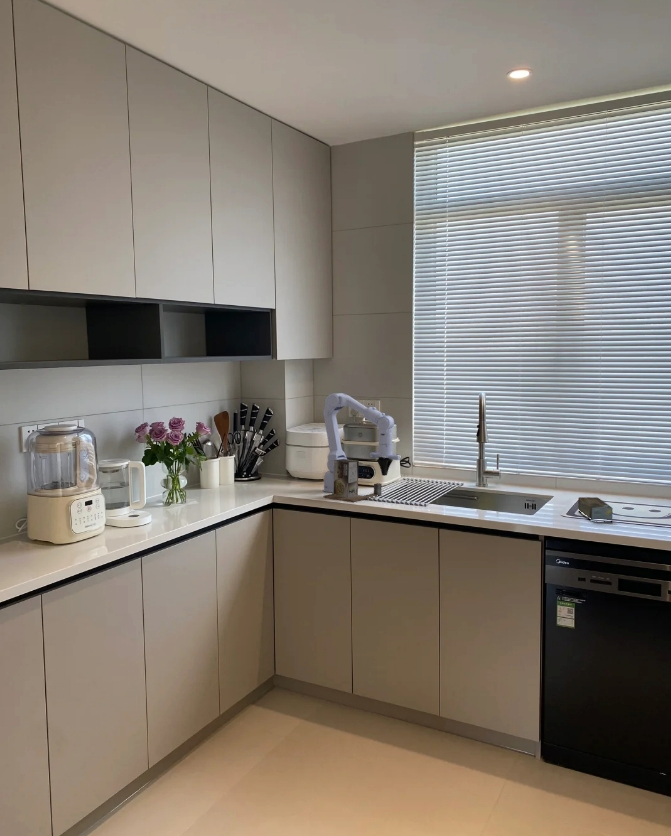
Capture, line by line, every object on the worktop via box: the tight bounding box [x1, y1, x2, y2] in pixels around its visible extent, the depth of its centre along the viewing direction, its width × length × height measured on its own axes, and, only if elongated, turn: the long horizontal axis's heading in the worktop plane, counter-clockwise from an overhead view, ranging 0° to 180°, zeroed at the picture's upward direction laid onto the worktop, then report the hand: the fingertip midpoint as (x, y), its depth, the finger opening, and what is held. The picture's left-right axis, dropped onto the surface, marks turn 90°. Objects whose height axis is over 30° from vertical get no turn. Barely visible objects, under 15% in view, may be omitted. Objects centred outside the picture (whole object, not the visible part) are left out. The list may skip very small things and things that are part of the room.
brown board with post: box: [323, 482, 383, 503], centre depth 303 cm, size 16×21×5 cm
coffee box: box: [334, 458, 360, 498], centre depth 299 cm, size 9×6×16 cm
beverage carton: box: [577, 496, 614, 521], centre depth 267 cm, size 8×19×7 cm, turn 175°
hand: (384, 475), depth 303 cm, fingers closed
